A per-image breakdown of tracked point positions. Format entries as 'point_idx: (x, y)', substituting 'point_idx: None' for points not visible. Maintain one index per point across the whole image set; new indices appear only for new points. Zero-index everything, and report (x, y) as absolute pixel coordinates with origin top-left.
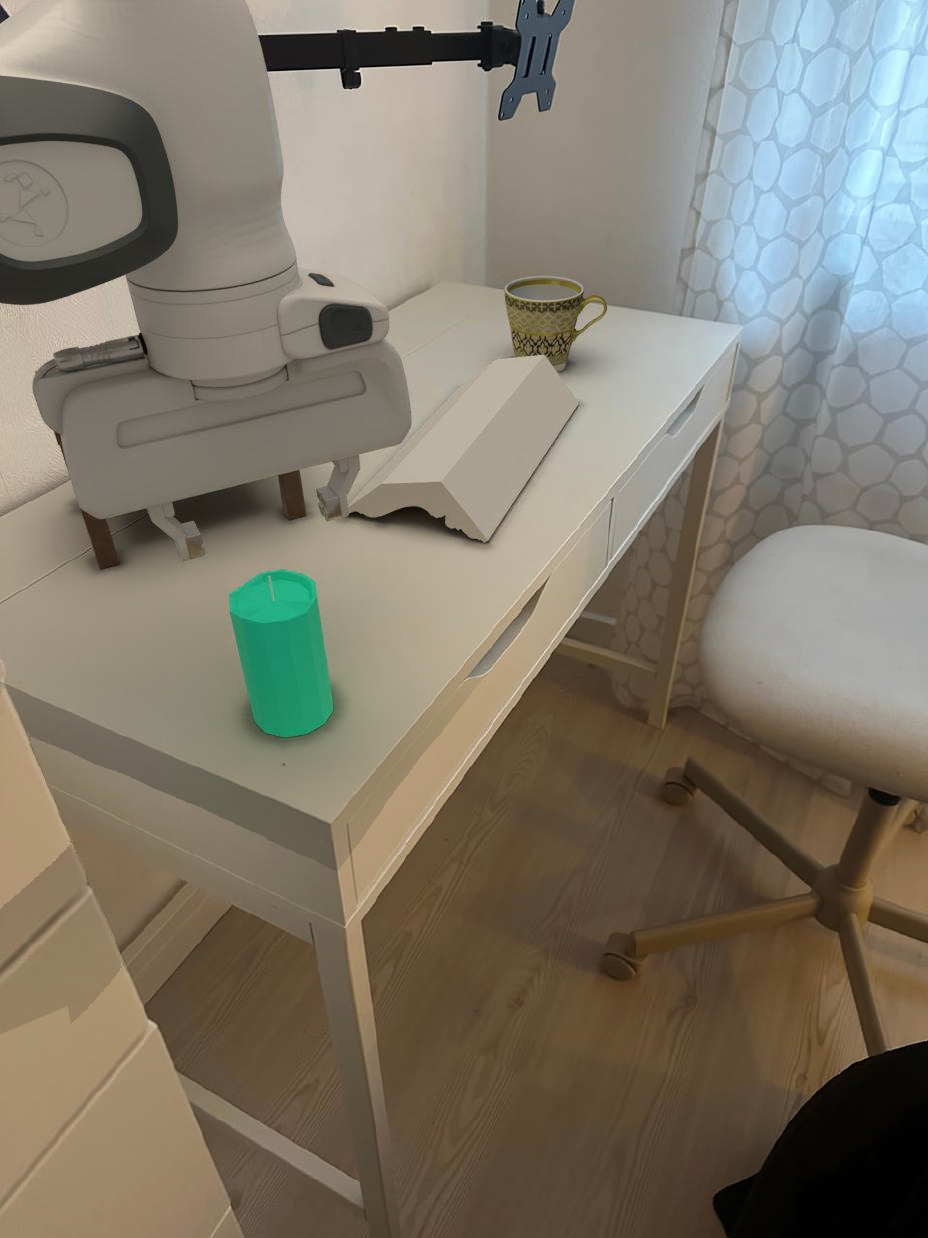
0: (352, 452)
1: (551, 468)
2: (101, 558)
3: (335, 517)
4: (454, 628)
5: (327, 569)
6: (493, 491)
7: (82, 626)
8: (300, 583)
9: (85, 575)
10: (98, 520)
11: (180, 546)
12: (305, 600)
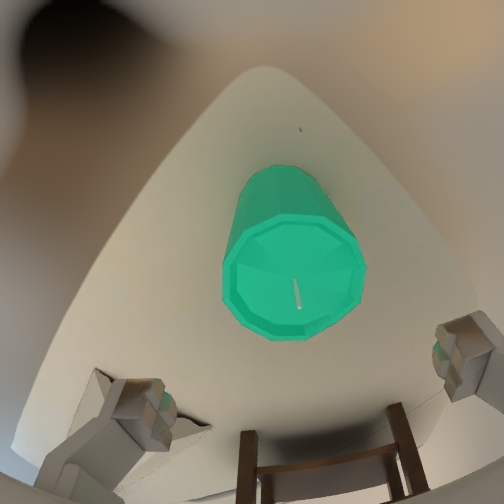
0: (22, 494)
1: (66, 413)
2: (400, 409)
3: (138, 381)
4: (116, 281)
5: (228, 380)
6: (90, 408)
7: (430, 350)
8: (247, 308)
9: (411, 397)
10: (403, 436)
11: (497, 331)
12: (243, 266)
